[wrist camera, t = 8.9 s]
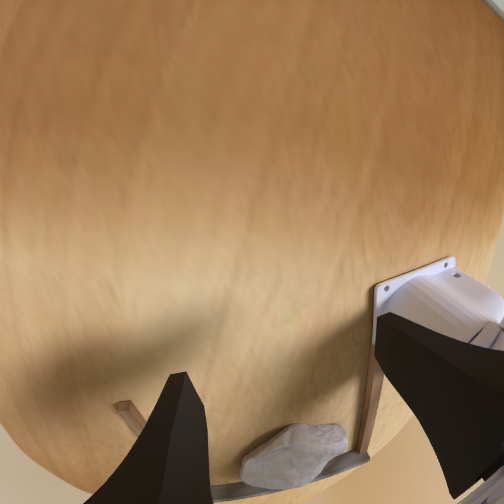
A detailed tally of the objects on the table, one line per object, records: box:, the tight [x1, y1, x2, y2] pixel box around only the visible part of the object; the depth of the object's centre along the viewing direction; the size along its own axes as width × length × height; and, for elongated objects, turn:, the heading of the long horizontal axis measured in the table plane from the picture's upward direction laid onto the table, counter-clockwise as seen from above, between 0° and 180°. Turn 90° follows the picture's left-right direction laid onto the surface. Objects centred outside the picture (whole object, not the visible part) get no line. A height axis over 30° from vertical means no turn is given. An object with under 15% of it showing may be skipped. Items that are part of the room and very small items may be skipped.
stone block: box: [239, 423, 348, 490], centre depth 26 cm, size 12×5×10 cm
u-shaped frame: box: [118, 341, 384, 503], centre depth 25 cm, size 24×23×2 cm
